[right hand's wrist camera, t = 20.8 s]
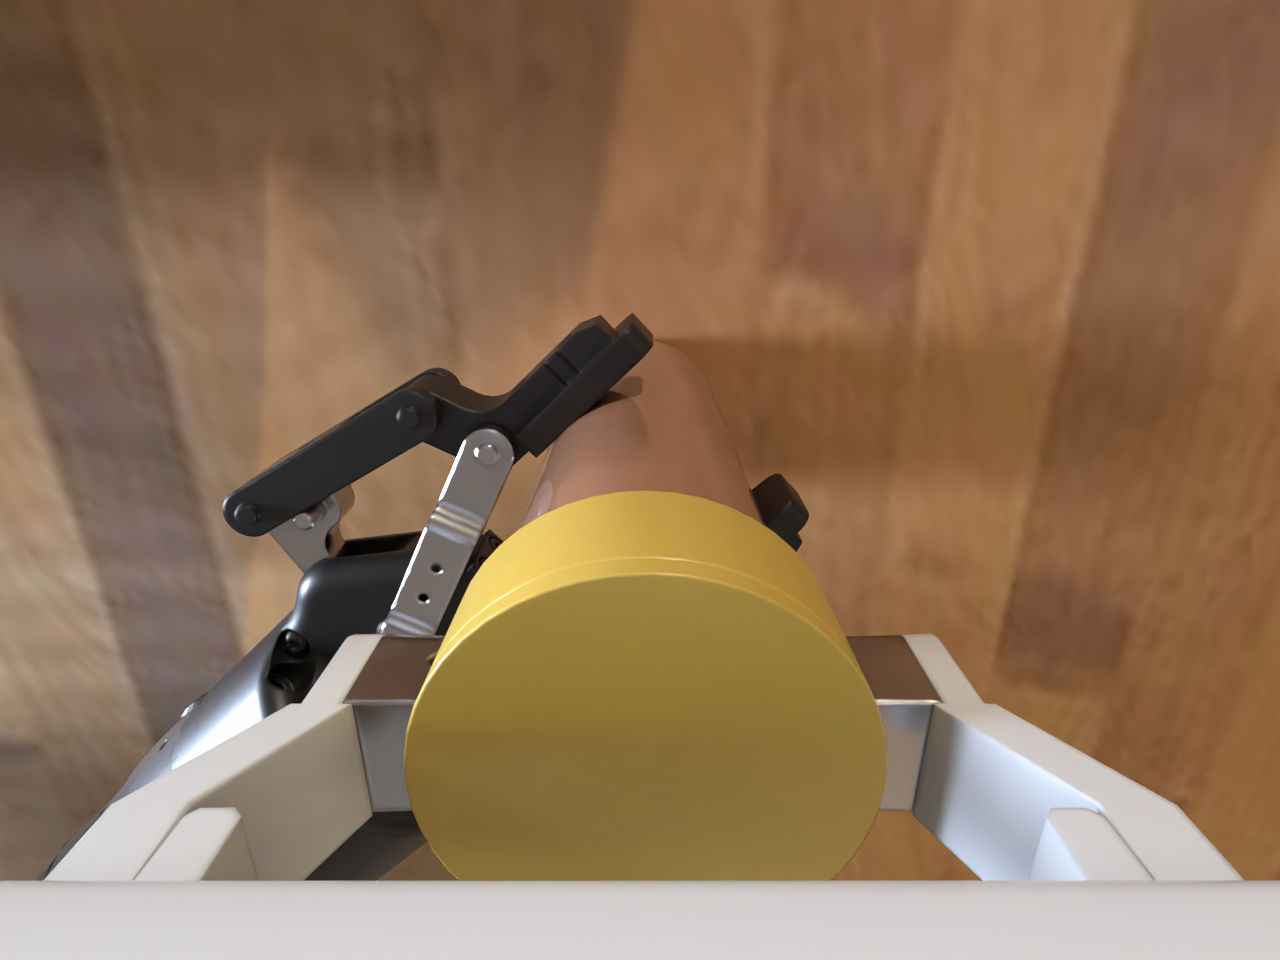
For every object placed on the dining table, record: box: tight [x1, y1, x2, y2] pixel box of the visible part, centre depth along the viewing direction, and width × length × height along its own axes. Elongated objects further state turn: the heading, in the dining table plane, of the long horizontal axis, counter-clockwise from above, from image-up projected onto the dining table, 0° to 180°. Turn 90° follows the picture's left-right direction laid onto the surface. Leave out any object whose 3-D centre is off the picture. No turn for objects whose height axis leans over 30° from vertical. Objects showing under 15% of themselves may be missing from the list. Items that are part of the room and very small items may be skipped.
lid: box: [403, 491, 888, 881], centre depth 9 cm, size 6×6×2 cm
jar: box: [518, 340, 766, 530], centre depth 16 cm, size 5×5×16 cm
